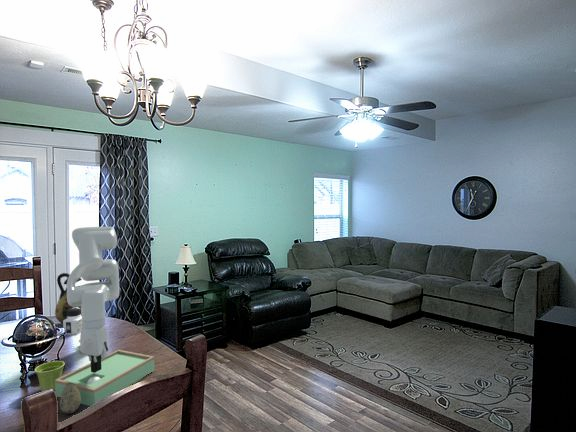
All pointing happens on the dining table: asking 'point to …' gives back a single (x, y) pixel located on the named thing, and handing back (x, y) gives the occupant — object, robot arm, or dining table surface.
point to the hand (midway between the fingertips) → (96, 370)
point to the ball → (93, 379)
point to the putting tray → (108, 375)
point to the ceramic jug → (63, 300)
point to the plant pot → (49, 374)
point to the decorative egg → (70, 398)
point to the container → (73, 321)
